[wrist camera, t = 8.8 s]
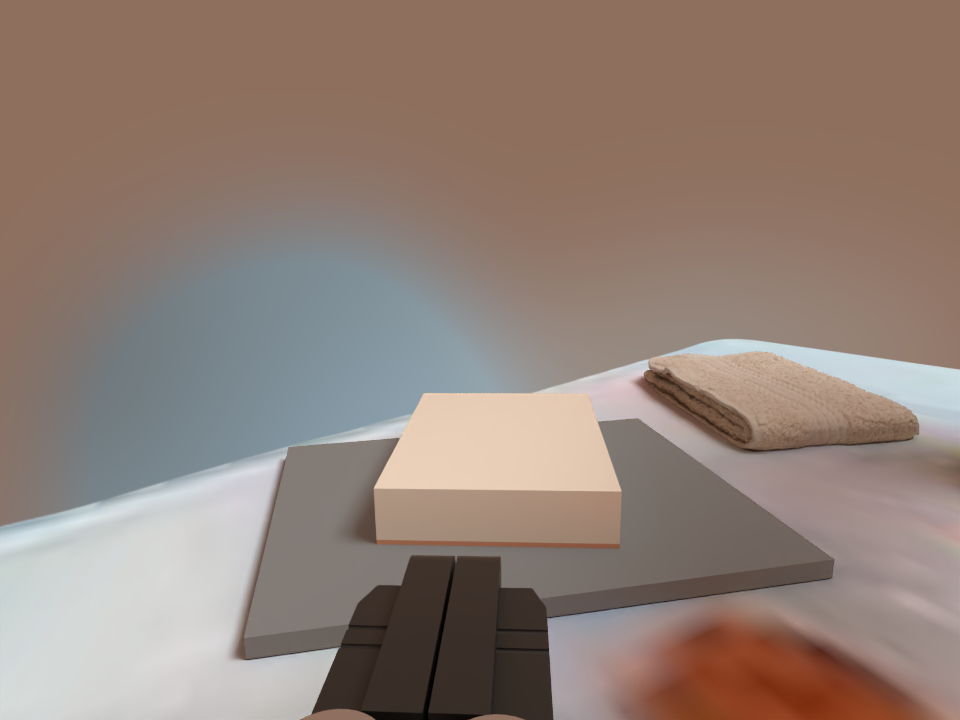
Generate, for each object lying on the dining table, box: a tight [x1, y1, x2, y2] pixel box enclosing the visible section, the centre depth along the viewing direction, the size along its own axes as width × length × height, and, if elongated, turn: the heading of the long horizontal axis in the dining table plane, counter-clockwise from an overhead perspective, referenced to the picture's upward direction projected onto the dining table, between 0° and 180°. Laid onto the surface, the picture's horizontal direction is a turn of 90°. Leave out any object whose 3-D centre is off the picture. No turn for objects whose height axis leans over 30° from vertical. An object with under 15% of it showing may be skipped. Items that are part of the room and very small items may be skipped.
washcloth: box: [644, 352, 919, 451], centre depth 48 cm, size 12×18×3 cm, turn 9°
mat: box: [243, 419, 834, 659], centre depth 32 cm, size 22×18×1 cm
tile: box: [374, 393, 622, 549], centre depth 33 cm, size 10×2×14 cm
